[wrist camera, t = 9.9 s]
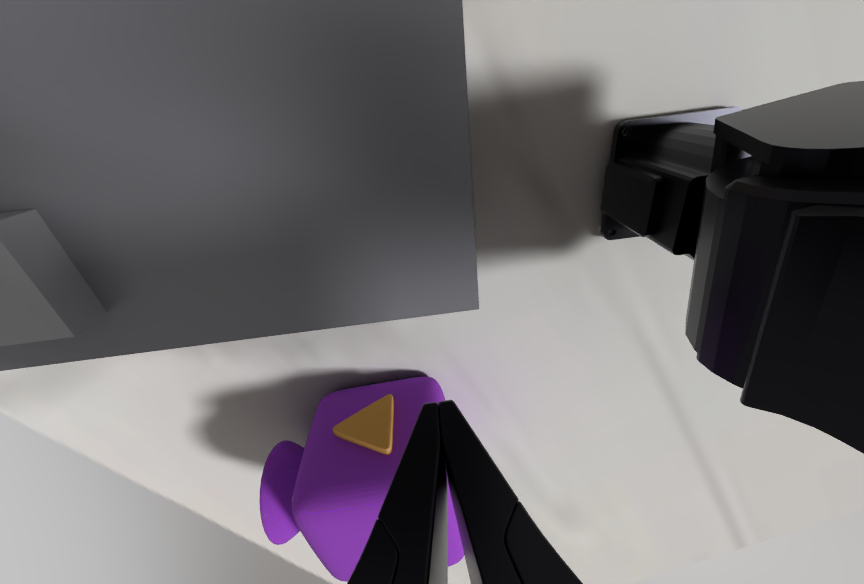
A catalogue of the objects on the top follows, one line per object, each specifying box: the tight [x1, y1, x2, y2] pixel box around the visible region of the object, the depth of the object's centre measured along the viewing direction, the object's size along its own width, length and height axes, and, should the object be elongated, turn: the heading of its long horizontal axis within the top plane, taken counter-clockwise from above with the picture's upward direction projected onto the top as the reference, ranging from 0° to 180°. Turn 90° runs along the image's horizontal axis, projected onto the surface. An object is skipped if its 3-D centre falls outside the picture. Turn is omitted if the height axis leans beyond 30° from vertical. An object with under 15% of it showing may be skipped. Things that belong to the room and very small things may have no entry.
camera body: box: [0, 0, 479, 371], centre depth 14 cm, size 23×12×10 cm, turn 96°
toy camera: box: [260, 377, 464, 581], centre depth 25 cm, size 11×14×10 cm
